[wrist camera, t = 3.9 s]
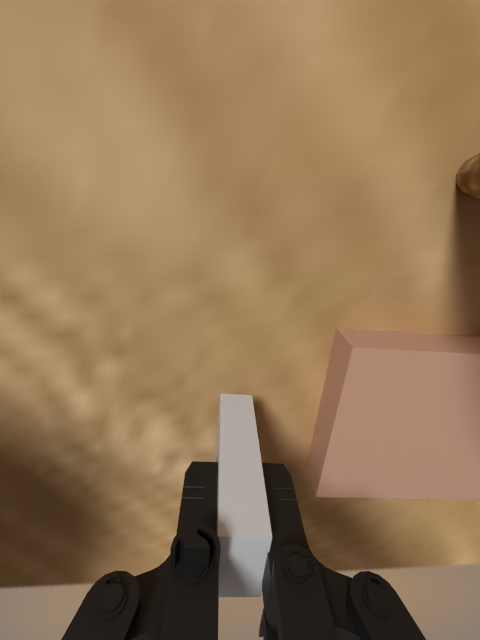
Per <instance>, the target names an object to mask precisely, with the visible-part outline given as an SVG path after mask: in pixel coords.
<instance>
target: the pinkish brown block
mask: <svg viewBox="0 0 480 640" xmlns="http://www.w3.org/2000/svg"><path fill="white" fill-rule="evenodd" d="M306 467H307V470H308V473H309V477H310V480H311V483H312V486H313V490H314V493H315V496H316V497H340V498H398V499H456V500H480V337H472V336H455V335H439V334H422V333H406V332H389V331H372V330H356V329H339V328H337V329H336V333H335V338H334V342H333V347H332V352H331V356H330V361H329V365H328V370H327V375H326V379H325V384H324V388H323V393H322V398H321V402H320V407H319V411H318V416H317V420H316V425H315V430H314V434H313V439H312V443H311V448H310V453H309V457H308V462H307V466H306Z"/></svg>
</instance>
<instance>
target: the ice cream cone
mask: <svg viewBox="0 0 480 640" xmlns="http://www.w3.org/2000/svg"><path fill="white" fill-rule="evenodd" d="M456 182H457V185H458V188H459V189H460V190H461V191H462V192H464V193H466V194H469V195H471V196H473V197H475V198H478V199H480V153H479V154H478V155H476V156H474V157H472V158H471V159H469V160H467V161H466V162H465V163H464V164H463V165H462V166H461V167H460V169H459V171H458V173H457V177H456Z"/></svg>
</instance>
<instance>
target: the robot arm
mask: <svg viewBox="0 0 480 640" xmlns="http://www.w3.org/2000/svg"><path fill="white" fill-rule="evenodd" d="M261 591H262V592H263V601H264V609H263V614H262V619H261V623H260V630H259V637H263V636H264V640H426V639H425V637H424V636H423V634H422V633H421V631H420V629H419V628H418V626H417V624H416V623H415V621H414V620H413V618H412V617H411V615H410V613H409V612H408V610H407V609H406V607H405V605H404V604H403V602H402V601H401V599H400V598H399V596H398V594H397V593H396V591H395V590H394V589H393V588H392V586H391V585H390V584H389V583H388V582H387V581H386V580H385V579H383V578H382V577H380V576H379V575H377V574H375V573H372V572H369V571H364V572H359V573H358V574H356V575H355V576H354V577H353V578H350V577H348V576H345V575H343V574H340V573H337V572H335V571H332V570H330V569H328V568H326V567H325V566H324V565H322V564H321V563H320V562H319V561H318V560H317V559H316V558H315V557H314V556H313V554H312V552H311V551H310V549H309V546H308V543H307V540H306V536H305V532H304V528H303V524H302V519H301V515H300V511H299V507H298V503H297V501H296V495H295V491H294V486H293V482H292V478H291V475H290V473H289V472H288V470H287V469H286V468H285V466H284V465H283V464H275V463H262V461H261V454H260V447H259V440H258V433H257V426H256V419H255V412H254V405H253V398H252V395H237V394H221V395H220V406H219V418H218V429H217V443H216V462H194V461H192V463H191V464H190V466H189V468H188V469H187V471H186V472H185V479H184V486H183V493H182V500H181V507H180V514H179V521H178V528H177V535H176V536H175V538H174V540H173V543H172V546H171V554H170V556H169V557H168V558H167V559H166V561H165V562H164V563H162V564H161V565H160V566H159V567H157V568H155V569H153V570H151V571H148V572H146V573H143V574H140V575H137V576H135V577H134V576H133V575H131V574H130V573H128V572H126V571H114V572H111V573H108V574H106V575H104V576H103V577H102V578H100V579H99V580H98V581H96V582H95V584H94V585H93V586H92V588H91V589H90V590H89V592H88V593H87V595H86V597H85V599H84V600H83V602H82V604H81V606H80V607H79V609H78V611H77V613H76V615H75V616H74V618H73V620H72V622H71V624H70V625H69V627H68V629H67V631H66V633H65V634H64V636H63V638H62V640H218V597H260V596H261Z"/></svg>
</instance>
